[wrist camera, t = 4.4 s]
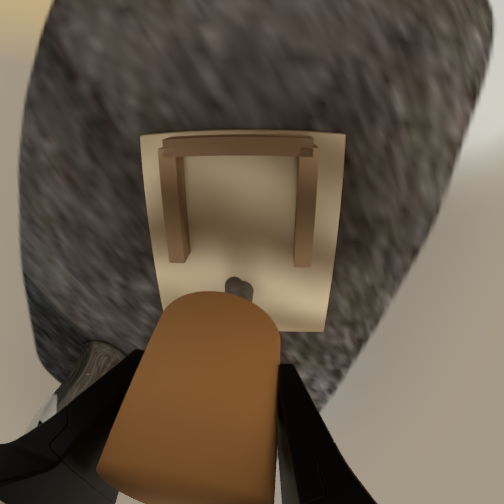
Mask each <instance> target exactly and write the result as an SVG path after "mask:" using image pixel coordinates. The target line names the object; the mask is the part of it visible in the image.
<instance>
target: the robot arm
mask: <svg viewBox="0 0 504 504" xmlns="http://www.w3.org/2000/svg"><path fill="white" fill-rule="evenodd" d="M144 352H145V350H141V349H135V350H134V351H132V352H131V353H130V354H129V355H128V356H126V357H125V358H124V359H123V360H121V361H120V362H119V363H118V364H116V365H115V366H114V367H113V368H112V369H110V370H109V371H108V372H107V373H105V374H104V375H103V376H102V377H100V378H99V379H98V380H97V381H96V382H94V383H93V384H92V385H91V386H89V387H88V388H87V389H86V390H84V391H83V392H82V393H81V394H80V395H78V396H77V397H76V398H75V399H73V400H72V401H71V402H70V403H68V406H67V405H66V406H65V407H63V408H62V409H61V410H60V411H58V412H57V413H56V414H54V415H53V416H52V417H51V418H49V419H48V420H46V421H45V422H43V423H42V424H40V425H39V426H37V427H36V428H34V429H33V430H31V431H29V432H28V433H26V434H25V435H23V436H22V437H20V438H19V439H17V440H15V441H12V442H10V443H6V444H0V504H115V502H116V499H117V495H118V492H119V491H118V490H116V489H115V488H113V487H112V486H110V485H109V484H108V483H106V482H105V481H104V480H103V479H102V478H101V477H100V476H99V475H98V473H97V471H96V468H97V465H98V462H99V460H100V457H101V455H102V452H103V449H104V447H105V444H106V442H107V439H108V437H109V434H110V432H111V429H112V427H113V424H114V422H115V419H116V417H117V414H118V412H119V410H120V407H121V405H122V402H123V400H124V398H125V395H126V393H127V391H128V388H129V386H130V384H131V381H132V379H133V377H134V374H135V372H136V370H137V368H138V365H139V363H140V361H141V359H142V356H143V354H144ZM277 444H278V457H279V469H280V481H281V495H282V504H377V503H376V501H375V500H374V499H373V498H372V497H371V495H370V494H369V493H368V491H367V490H366V489H365V487H364V486H363V485H362V483H361V482H360V481H359V480H358V478H357V477H356V476H355V474H354V473H353V471H352V470H351V468H350V467H349V466H348V464H347V463H346V461H345V459H344V458H343V456H342V454H341V453H340V451H339V449H338V447H337V445H336V443H335V442H334V440H333V438H332V436H331V434H330V433H329V431H328V429H327V427H326V425H325V423H324V421H323V420H322V417H321V416H320V414H319V412H318V410H317V408H316V406H315V404H314V402H313V401H312V399H311V397H310V395H309V393H308V391H307V389H306V387H305V385H304V384H303V382H302V380H301V378H300V376H299V374H298V372H297V370H296V368H295V366H294V365H293V363H286V362H282V363H280V365H279V404H278V435H277Z"/></svg>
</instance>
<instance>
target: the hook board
mask: <svg viewBox="0 0 504 504" xmlns="http://www.w3.org/2000/svg"><path fill="white" fill-rule="evenodd" d="M345 137H346V135H345V134H343V133H333V132H319V131H300V130H267V129H232V130H199V131H180V132H166V133H154V134H145V135H142V136H140V144H141V157H142V168H143V179H144V189H145V198H146V206H147V214H148V222H149V229H150V236H151V243H152V250H153V256H154V263H155V269H156V275H157V280H158V286H159V291H160V297H161V302H162V307H163V312H164V310H165V308H166V307H167V306H168V305H169V304H170V303H171V302H173V301H174V300H175V299H177V298H179V297H181V296H184V295H186V294H189V293H194V292H200V291H217V292H225V293H229V294H233V295H236V296H239V297H242V298H244V299H246V300H249V301H250V302H252V303H254V304H256V305H257V306H258V307H260V308H261V309H262V310H264V311H265V312H266V313H267V314H268V315H269V316H270V318H271V319H272V320H273V321H274V323H275V325H276V326H277V329H278V331H296V332H323V331H324V326H325V320H326V314H327V307H328V301H329V295H330V288H331V281H332V274H333V266H334V259H335V251H336V243H337V234H338V225H339V215H340V205H341V194H342V182H343V169H344V155H345Z"/></svg>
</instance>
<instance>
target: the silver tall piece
mask: <svg viewBox="0 0 504 504" xmlns="http://www.w3.org/2000/svg"><path fill="white" fill-rule="evenodd" d="M125 357H126V356H125V355H124V354H123V353H122V352H121V351H120V350H118V349H117V348H115V347H113V346H112V345H110V344H107V343H105V342H101V341H89V342H87V343H85V344H84V345H83V347H82V349H81V351H80V353H79V356H78V359H77V362H76V364H75V366H74V368H73V370H72V372H71V373H70V375H69V376H68V377H67V379H66V380H65V381H64V382H63V383H62V384H61V385H60V386H59V387H58V388H57V389H56V391H55V392H54V393H53V394H52V395H51V396H50V397H49V398H48V399H47V400H46V401H45V403H44V404H43V405H42V406H41V408H40V409H39V410H38V411H37V413H36V414H35V416H34V418H33V419H32V421H31V423H30V424H29V426H28V428H27V430H26V432H25V434H26V433H28V432H29V431H31V430H33V429H34V428H36V427H37V426H39V425H40V424H42V423H43V422H45V421H46V420H48V419H49V418H51V417H52V416H53V415H54V414H56V413H57V412H58V411H60V410H61V409H62V408H63V407H65V406H66V405H67V406H68V403H70V402H71V401H72V400H73V399H75V398H76V397H77V396H78V395H80V394H81V393H82V392H83V391H84V390H86V389H87V388H88V387H89V386H91V385H92V384H93V383H94V382H96V381H97V380H98V379H99V378H100V377H102V376H103V375H104V374H105V373H107V372H108V371H109V370H110V369H112V368H113V367H114V366H115V365H116V364H118V363H119V362H120V361H121V360H123V359H124V358H125ZM25 434H24V435H25Z"/></svg>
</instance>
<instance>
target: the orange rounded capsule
mask: <svg viewBox="0 0 504 504" xmlns="http://www.w3.org/2000/svg"><path fill="white" fill-rule="evenodd" d="M279 365H280V335H279V331H278V329H277V326H276V325H275V323H274V321H273V320H272V319H271V318H270V316H269V315H268V314H267V313H266V312H265V311H264V310H262V309H261V308H260V307H258V306H257V305H256V304H254V303H252V302H250V301H249V300H246V299H244V298H242V297H239V296H236V295H233V294H229V293H225V292H217V291H200V292H194V293H189V294H186V295H184V296H181V297H179V298H177V299H175V300H174V301H173V302H171V303H170V304H169V305H168V306H167V307H166V308H165V310H164V312H163V313H162V315H161V317H160V319H159V322H158V324H157V326H156V328H155V330H154V332H153V334H152V337H151V339H150V341H149V343H148V345H147V348H146V350H145V352H144V354H143V356H142V359H141V361H140V363H139V365H138V368H137V370H136V372H135V374H134V377H133V379H132V381H131V384H130V386H129V388H128V391H127V393H126V395H125V398H124V400H123V402H122V405H121V407H120V410H119V412H118V414H117V417H116V419H115V422H114V424H113V427H112V429H111V432H110V434H109V437H108V439H107V442H106V444H105V447H104V449H103V452H102V455H101V457H100V460H99V462H98V465H97V468H96V471H97V473H98V475H99V476H100V477H101V478H102V479H103V480H104V481H105V482H106V483H108V484H109V485H110V486H112V487H113V488H115V489H116V490H118V491H120V492H122V493H124V494H125V495H128V496H129V497H131V498H133V499H136V500H138V501H140V502H143V503H145V504H274V494H275V476H276V457H277V435H278V404H279Z"/></svg>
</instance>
